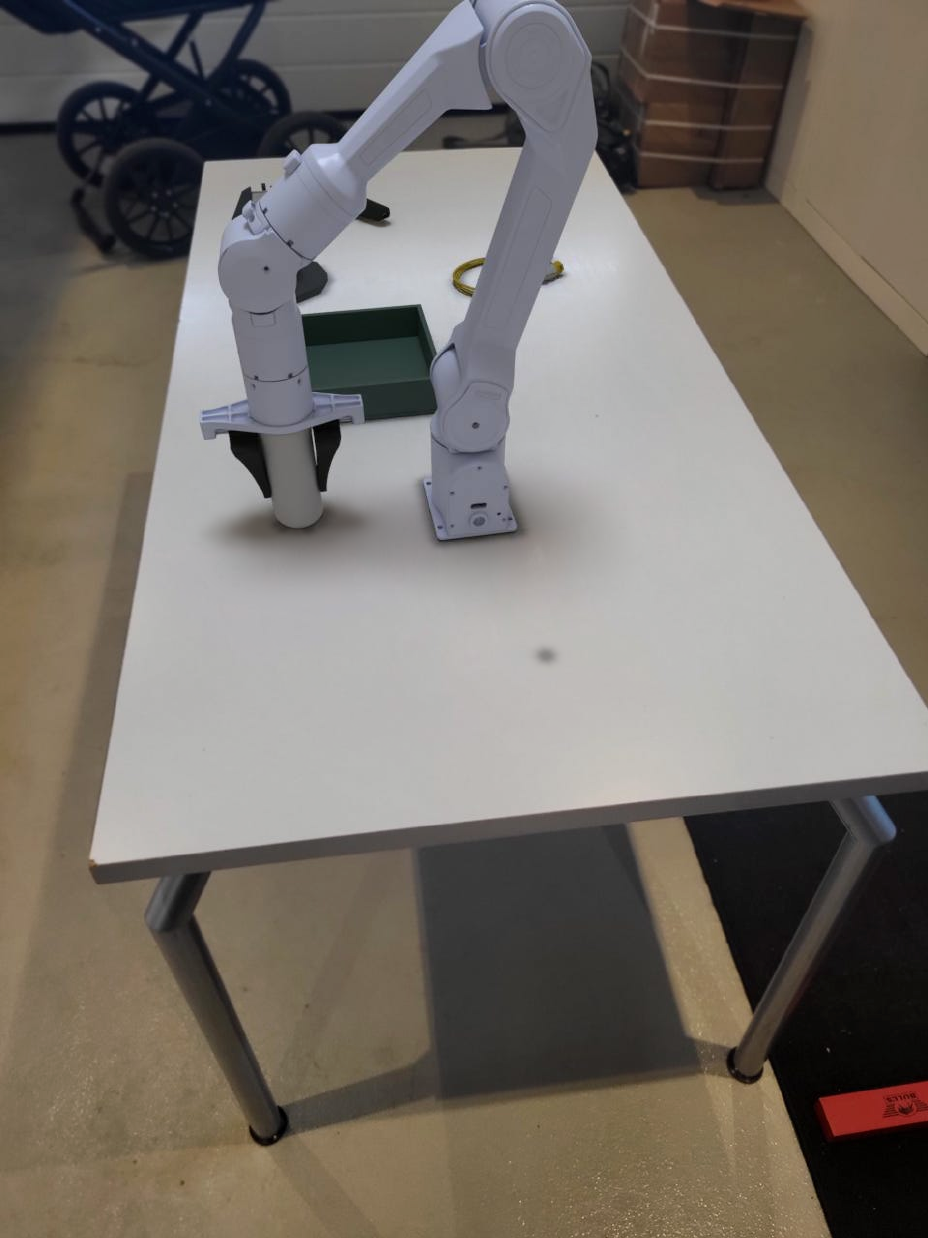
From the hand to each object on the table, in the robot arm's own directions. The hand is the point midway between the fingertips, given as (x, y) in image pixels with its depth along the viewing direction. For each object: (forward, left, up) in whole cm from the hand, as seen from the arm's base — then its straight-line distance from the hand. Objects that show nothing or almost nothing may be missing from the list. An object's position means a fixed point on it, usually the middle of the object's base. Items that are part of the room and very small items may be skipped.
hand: (295, 488), depth 86 cm
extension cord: (+46, -32, -4) cm, 56 cm away
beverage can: (0, 0, -4) cm, 4 cm away
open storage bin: (+24, -9, -3) cm, 26 cm away
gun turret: (+48, -1, -4) cm, 48 cm away
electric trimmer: (+73, -13, -4) cm, 74 cm away
